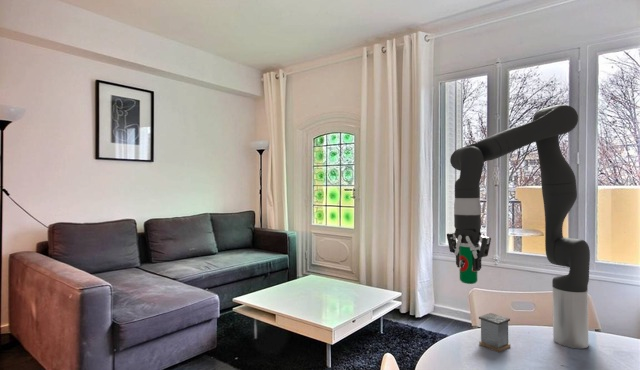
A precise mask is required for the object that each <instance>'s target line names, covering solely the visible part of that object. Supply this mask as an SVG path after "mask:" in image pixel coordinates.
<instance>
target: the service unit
mask: <svg viewBox="0 0 640 370" xmlns="http://www.w3.org/2000/svg"><path fill="white" fill-rule="evenodd" d="M478 319H479V320H480V341H478V344H479V346H480V347H481V346H482V347H484V348H486V349H489V350H492V351H493V352H497V353H501V352H503V351H505V350H507V349H509V348H511V343H510V342H509V322H511V318H508V317H506V316H502V315H498V314H495V313H492V312H490V313H487V314H484V315H481V316H478Z"/></svg>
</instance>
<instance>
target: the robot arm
mask: <svg viewBox="0 0 640 370" xmlns="http://www.w3.org/2000/svg"><path fill="white" fill-rule="evenodd" d="M578 122H579V114H578V111H577V110H576V109H575V108H574V107H573V106H571V105H568V104H556V105H552V106H547V107H545V108H541V109H539V110H537V111H536V112H535V114H534V115H533V118H532V120H531V121H529V122H527V123H524V124H522V125H518V126H514V127H511V128H508V129H505V130H503V131H500V132H497V133H495V134H492V135H490V136H487V137H485V138H484V139H482V140H480V141H477V142H473V143H471V144H469V145H465V146H462V147H460V148H458V149H456V150H455V151H454V152H452V154H451V156H450V158H449V159H450V165H451V166H452V167H453V169H455V170H457V171H460V172H459V178H458V179H456V180H455V182H454V201H453V202H454V203H453V217H454V219H453V220H454V221H453V222H454V225H453V226H454V228H455V231H454V232H449V233H446V239H447V244H448V249H449V252H450V253H453V254H454V255H455V265H456V267H457V268H458V269H459V245H460V244H461V243H462V242H463V243H468V245H469V247H470V250H471V251H472V253H473V256H474V258H473V264H474V271H477V272H479V271H480V270H482V258H485V257H488V256H489V251H490V248H491V247H490V246H491V243H492V241H491V240H492V238H491V237H490V236H484V235H482V233H481V229H482V211H481V210H482V207H481V205H482V204H481V199H480V198H481V197H480V196H481V195H480V194H481V193H480V191H481V190H480V182H481V180H482V175H483V169H484V163H485V162H489V161H494V160H496V159H499V158H501V157H504V156H505V155H508V154H510V153H512V152H514V151H517V150H519V149H522V148H524V147H526V146H528V145H530V144H534V143H535V145H536V149H537V155H538V163H539V164H538V165H539V170H540V183H541V194H542V195H541V196H542V199H543V209H544V222H545V224H544V228H545V229H544V230H545V232H544V235H545V237H544V241H545V245H544V246H545V256H546V259H547V261H548V262H549V263H550V264H552V265H556V266H559V267H567V268H569V271H568V274H565V275H559V276H554V277H553V278H552V282H551V284H552V285H551V286H552V329H553V330H552V339H553V341H554V342H555V343H557V344H559V345H561V346H564V347H567V348H572V349H587V348H589V301H588V300H589V298H588V295H589V294H588V291H589V289H588V287H589V286H588V285H589V283H590V260H591V253H590V252H591V251H590V246H589V244H588V242H587V241H586V240H584V239H581V238H572V237H564V235H563V227H564V221H565V220H566V218H567V215H568V214H569V212H570V211H571V210H572V208H573V206H574V205H575V203H576V201H577V198H578V191H577V179H576V175H575V172H574V170H573V168H572V167H571V166H570V164H569V162H568V161H567V159H566V158H565V156H564V155H563V153H562V151H561V150H562V149H561V147H560V140H559V139H560V138H559V136H562V135H565V134H569V133H570V132H572V131H573V130H574V129H575V128H576V126H577V125H578ZM474 246H477V247H476V248H475V247H474ZM476 250H477V251H476Z"/></svg>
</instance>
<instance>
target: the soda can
mask: <svg viewBox="0 0 640 370" xmlns="http://www.w3.org/2000/svg"><path fill="white" fill-rule="evenodd" d="M474 247H475V248H476V247H477V246H474ZM476 251H477V250H476ZM473 258H474V256H473V253H472V251H471V250H470V247H469V245H468V243H463V242H462V243H461V244H460V245H459V268H458V269H459V281H460V282H461V283H463V284H466V285H467V284H468V285H470V284H471V285H473V284H476V283H477V282H478V278H479V276H478V271H474V264H473Z"/></svg>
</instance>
